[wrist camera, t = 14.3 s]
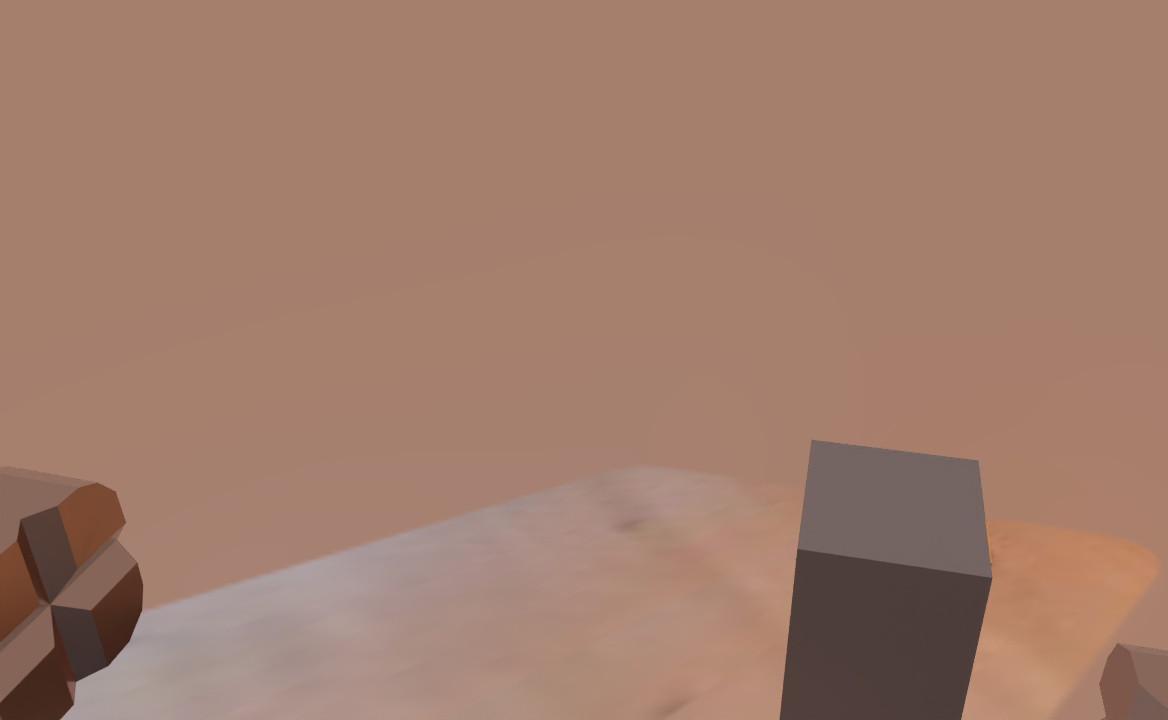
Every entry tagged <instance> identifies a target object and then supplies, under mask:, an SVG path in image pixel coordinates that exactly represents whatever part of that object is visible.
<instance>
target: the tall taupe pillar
mask: <svg viewBox="0 0 1168 720" xmlns="http://www.w3.org/2000/svg"><path fill="white" fill-rule="evenodd" d="M991 566H992V558H991V550H990V542H989V534H988V525H987V520H985V512H984V504H983V495H982V488H981V479H980V471H979V462H978V461H977V460H969V459H961V458H952V457H945V456H936V455H928V454H921V453H913V452H904V451H897V450H888V449H881V448H872V447H864V446H856V445H848V444H840V443H832V442H824V441H816V440H812V442H811V451H810V458H809V465H808V473H807V480H806V488H805V495H804V503H803V511H802V518H801V526H800V534H799V541H798V549H797V558H796V568H795V578H794V587H793V597H792V606H791V616H790V625H789V635H788V645H787V654H786V664H785V673H784V683H783V693H782V702H781V712H780V720H961V717H962V713H963V708H964V704H965V699H966V695H967V690H968V686H969V681H970V676H971V672H972V667H973V663H974V658H975V654H976V649H977V645H978V640H979V636H980V631H981V627H982V622H983V618H984V613H985V609H986V604H987V600H988V595H989V591H990V586H991V582H992V571H991Z"/></svg>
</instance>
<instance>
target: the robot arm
mask: <svg viewBox="0 0 1168 720" xmlns="http://www.w3.org/2000/svg"><path fill="white" fill-rule="evenodd" d="M125 523H126V521H125V518H124V515H123V512H122V509H121V506H120V503H119V500H118V497H117V494H116V492H115V491H113V490H111V489H109V488H107V487H105V486H103V485H101V484H99V483H97V482H92V481H86V480H80V479H75V478H69V477H64V476H59V475H53V474H48V473H43V472H37V471H32V470H27V469H21V468H16V467H10V466H4V467H2V466H0V720H60V719H61V718H62V717H63V716H64V715H65V714H66V713H67V712H68V710H69V709H70V708H71V707H72V706H73V705H74V699H75V688H76V682H77V681H79V680H81V679H83V678H85V677H87V676H89V675H91V674H93V673H95V672H97V671H99V670H101V669H103V668H105V667H107V666H109V665H110V664H111V662H112V661H113V660H114V659H115V658H116V657H117V655H118V654H119V653H120V652H121V651H122V650H123V648H124V647H125V646H126V645H127V644H128V642H129V641H130V639H131V636H132V634H133V631H134V629H135V626H136V624H137V622H138V619H139V617H140V614H141V612H142V602H143V582H142V579H141V575H140V571H139V567H138V563H137V562H136V560H135V559H134V558H133V557H132V556H131V555H130V554H129V553H128V552H127V550H126V549H125V548H124V547H123V546H122V545H121V544H120V543H119V541H117V538H118V537H119V535H120V533H121V531H122V529H123V527H124V525H125ZM1099 685H1100V690H1101V694H1102V699H1103V703H1104V708H1105V713H1106V717H1105V718H1103V719H1102V720H1168V651H1166V650H1159V649H1153V648H1146V647H1139V646H1133V645H1127V644H1120V643H1117V645H1116V646H1115V648H1114V649H1113V651H1112V652H1111V654H1110V655H1109V656H1108V658H1107V662H1106V665H1105V668H1104V671H1103V674H1102V677H1101V680H1100V684H1099Z"/></svg>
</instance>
